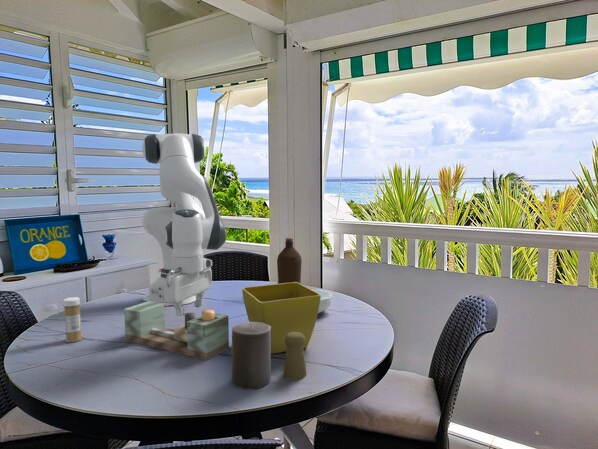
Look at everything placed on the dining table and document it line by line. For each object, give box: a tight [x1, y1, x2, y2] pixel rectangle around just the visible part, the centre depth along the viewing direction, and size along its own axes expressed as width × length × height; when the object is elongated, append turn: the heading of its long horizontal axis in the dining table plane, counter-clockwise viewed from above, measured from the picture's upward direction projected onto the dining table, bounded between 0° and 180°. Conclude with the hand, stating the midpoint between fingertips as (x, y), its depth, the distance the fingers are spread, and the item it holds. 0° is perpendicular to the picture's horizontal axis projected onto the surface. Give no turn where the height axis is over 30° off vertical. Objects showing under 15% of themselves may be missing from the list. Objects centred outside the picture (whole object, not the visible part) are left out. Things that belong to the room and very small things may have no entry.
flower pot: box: [241, 282, 321, 354], centre depth 134 cm, size 19×19×17 cm
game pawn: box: [283, 332, 307, 381], centre depth 113 cm, size 6×6×11 cm
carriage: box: [173, 312, 196, 343], centre depth 131 cm, size 6×7×8 cm
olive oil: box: [276, 237, 303, 284], centre depth 190 cm, size 11×11×25 cm
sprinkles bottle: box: [62, 296, 83, 343], centre depth 137 cm, size 5×5×14 cm
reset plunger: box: [201, 308, 215, 322], centre depth 128 cm, size 4×4×4 cm
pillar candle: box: [231, 321, 272, 390], centre depth 110 cm, size 10×10×15 cm
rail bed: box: [123, 301, 230, 361], centre depth 134 cm, size 33×10×10 cm, turn 61°
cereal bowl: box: [312, 289, 333, 315], centre depth 166 cm, size 17×17×7 cm
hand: (189, 310), depth 130 cm, fingers open, 8 cm apart
